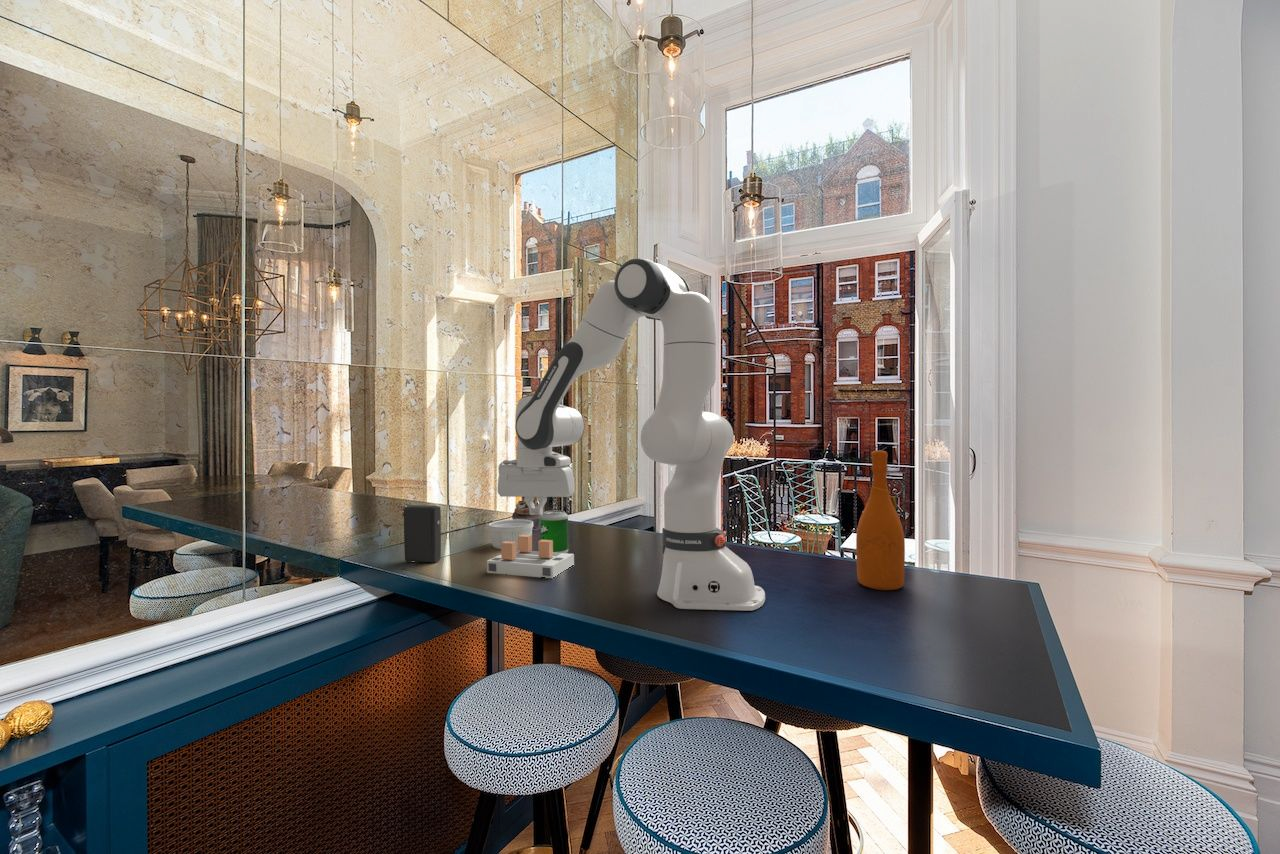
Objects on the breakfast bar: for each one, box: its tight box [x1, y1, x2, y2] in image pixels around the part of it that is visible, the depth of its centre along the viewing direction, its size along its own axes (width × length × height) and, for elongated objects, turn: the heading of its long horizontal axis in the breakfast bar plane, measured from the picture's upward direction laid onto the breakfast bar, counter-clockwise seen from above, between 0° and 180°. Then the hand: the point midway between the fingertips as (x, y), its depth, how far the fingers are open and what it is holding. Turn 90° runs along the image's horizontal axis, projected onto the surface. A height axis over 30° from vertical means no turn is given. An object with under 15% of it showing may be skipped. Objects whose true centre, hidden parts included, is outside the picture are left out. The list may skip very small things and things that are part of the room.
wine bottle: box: [855, 449, 906, 591], centre depth 120 cm, size 10×10×30 cm
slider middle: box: [537, 539, 553, 558], centre depth 136 cm, size 3×2×4 cm, turn 72°
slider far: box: [517, 534, 533, 552], centre depth 142 cm, size 3×2×4 cm, turn 72°
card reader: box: [403, 504, 442, 563], centre depth 146 cm, size 9×4×15 cm, turn 82°
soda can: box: [540, 509, 569, 553], centre depth 151 cm, size 8×8×12 cm
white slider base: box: [486, 549, 575, 579], centre depth 137 cm, size 18×12×3 cm
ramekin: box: [488, 519, 534, 550], centre depth 164 cm, size 13×13×7 cm
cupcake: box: [511, 500, 541, 530], centre depth 188 cm, size 10×10×10 cm
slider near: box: [500, 541, 517, 560], centre depth 134 cm, size 3×2×4 cm, turn 72°
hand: (536, 514), depth 136 cm, fingers closed
